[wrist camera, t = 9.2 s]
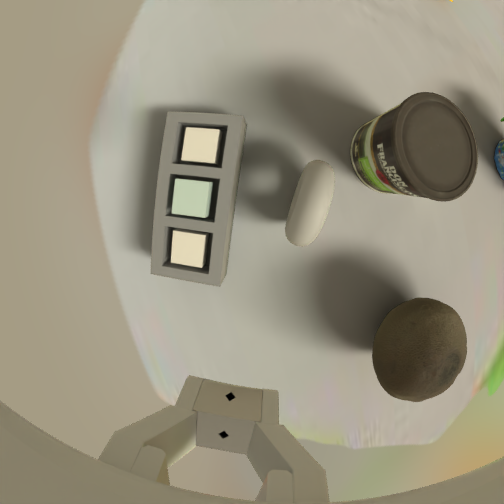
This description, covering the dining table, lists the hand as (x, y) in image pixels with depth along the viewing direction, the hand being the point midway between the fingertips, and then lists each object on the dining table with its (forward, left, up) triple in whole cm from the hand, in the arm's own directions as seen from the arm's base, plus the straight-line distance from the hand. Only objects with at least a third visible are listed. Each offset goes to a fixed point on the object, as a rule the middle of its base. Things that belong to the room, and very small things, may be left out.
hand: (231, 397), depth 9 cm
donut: (-7, -1, -29) cm, 30 cm away
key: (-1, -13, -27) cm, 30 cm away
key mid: (+3, -9, -25) cm, 27 cm away
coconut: (-10, +23, -29) cm, 39 cm away
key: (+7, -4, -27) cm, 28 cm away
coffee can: (-20, 0, -29) cm, 36 cm away
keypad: (+3, -9, -29) cm, 31 cm away
